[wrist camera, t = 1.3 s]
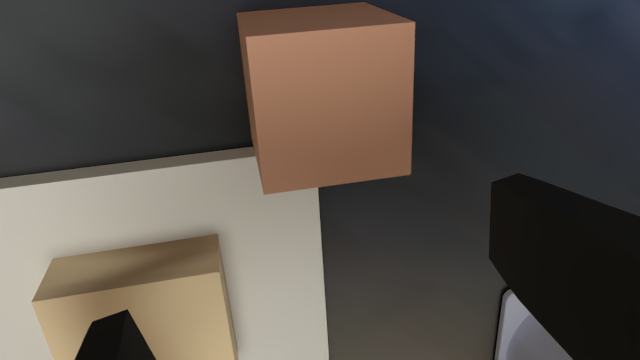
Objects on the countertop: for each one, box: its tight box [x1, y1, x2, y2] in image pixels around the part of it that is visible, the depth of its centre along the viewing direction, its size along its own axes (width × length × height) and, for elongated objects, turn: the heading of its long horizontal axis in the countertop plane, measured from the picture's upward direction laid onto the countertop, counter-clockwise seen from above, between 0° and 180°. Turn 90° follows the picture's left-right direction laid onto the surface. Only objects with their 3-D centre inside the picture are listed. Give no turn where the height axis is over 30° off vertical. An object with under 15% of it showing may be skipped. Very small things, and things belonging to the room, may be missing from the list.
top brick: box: [237, 2, 415, 195], centre depth 16 cm, size 4×4×5 cm
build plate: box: [0, 146, 329, 360], centre depth 21 cm, size 14×12×1 cm
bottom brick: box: [31, 234, 239, 360], centre depth 19 cm, size 6×6×2 cm
